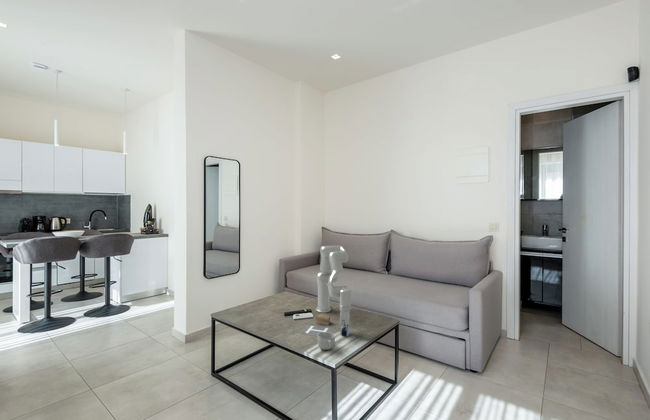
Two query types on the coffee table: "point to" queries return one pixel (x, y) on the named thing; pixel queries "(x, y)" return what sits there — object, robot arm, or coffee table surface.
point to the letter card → (315, 329)
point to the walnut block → (323, 319)
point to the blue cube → (346, 330)
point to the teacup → (326, 340)
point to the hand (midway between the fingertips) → (345, 333)
